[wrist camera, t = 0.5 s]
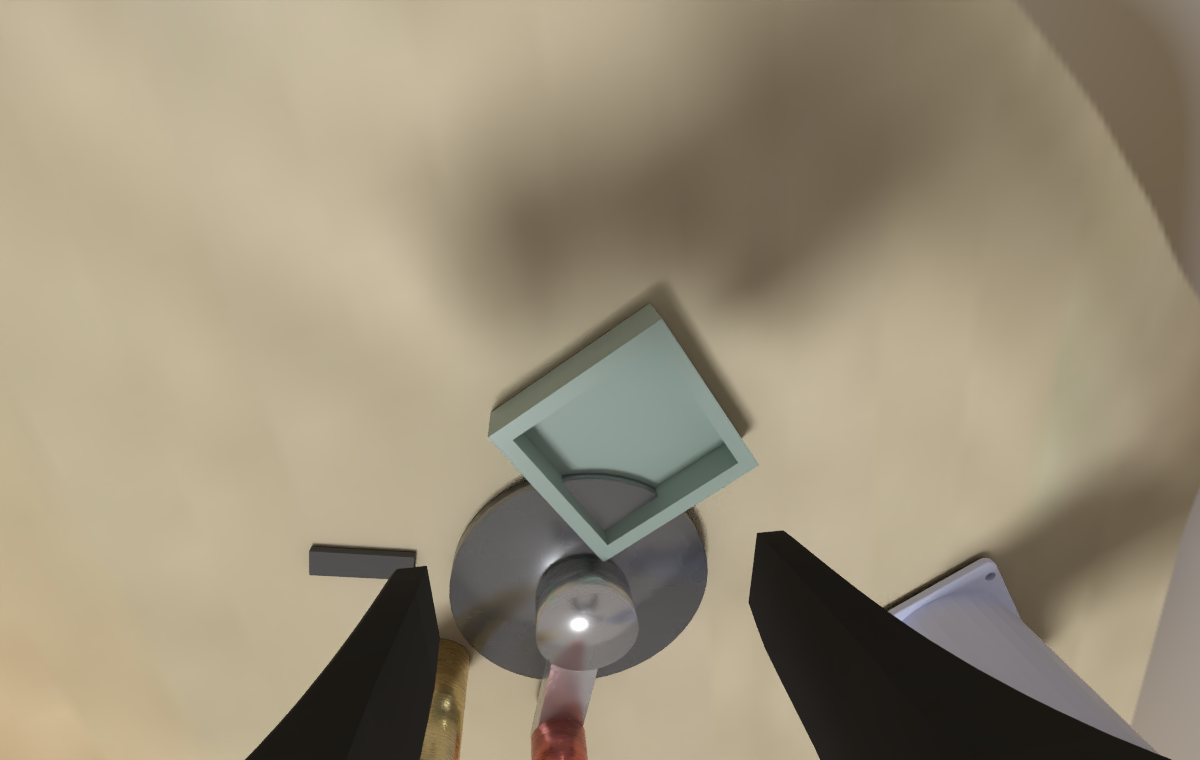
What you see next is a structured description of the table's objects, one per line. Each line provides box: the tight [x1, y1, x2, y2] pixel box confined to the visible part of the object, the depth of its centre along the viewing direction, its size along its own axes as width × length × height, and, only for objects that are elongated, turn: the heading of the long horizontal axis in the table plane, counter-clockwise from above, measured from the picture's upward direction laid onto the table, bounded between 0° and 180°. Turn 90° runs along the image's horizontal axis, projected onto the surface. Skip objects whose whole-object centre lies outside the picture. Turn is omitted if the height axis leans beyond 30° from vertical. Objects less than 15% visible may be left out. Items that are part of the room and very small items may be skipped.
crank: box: [531, 558, 639, 760], centre depth 23 cm, size 10×4×4 cm, turn 169°
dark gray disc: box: [449, 473, 708, 679], centre depth 24 cm, size 11×11×1 cm
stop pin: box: [420, 639, 469, 760], centre depth 23 cm, size 3×3×6 cm
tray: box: [488, 303, 759, 562], centre depth 21 cm, size 7×7×2 cm
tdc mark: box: [309, 546, 415, 579], centre depth 23 cm, size 4×1×1 cm, turn 79°
